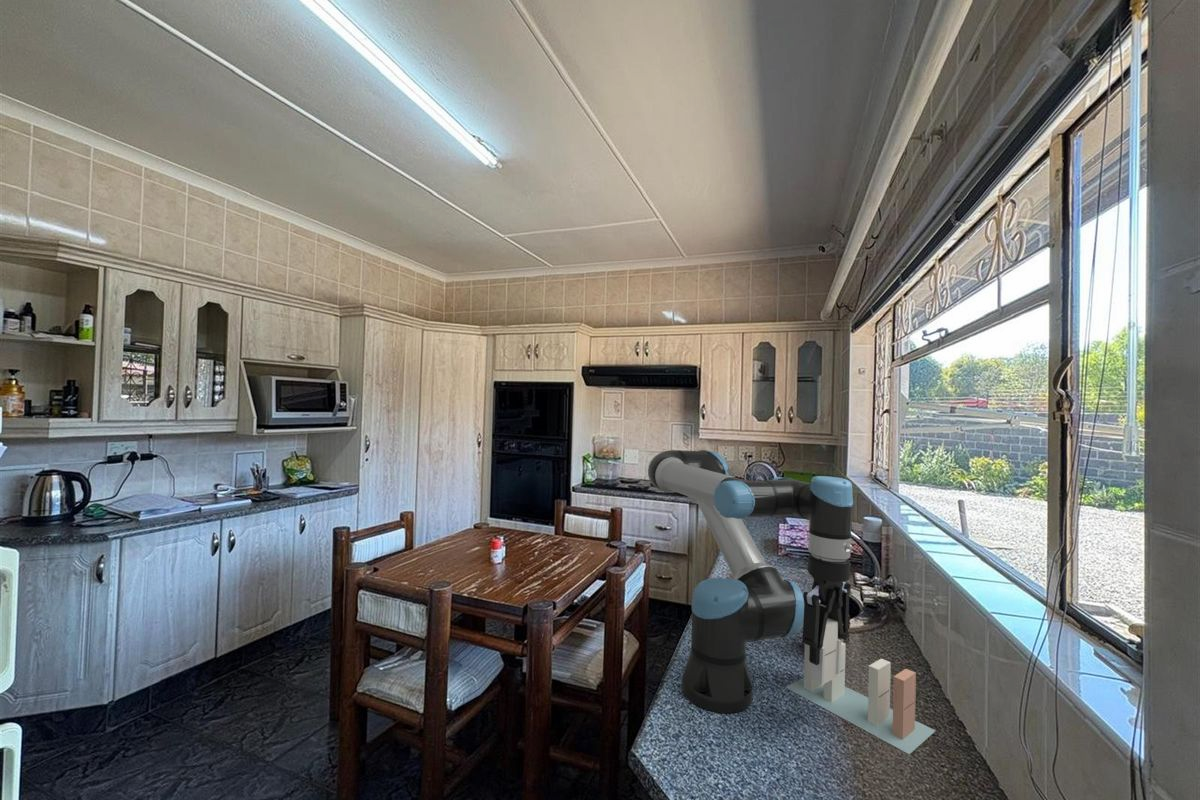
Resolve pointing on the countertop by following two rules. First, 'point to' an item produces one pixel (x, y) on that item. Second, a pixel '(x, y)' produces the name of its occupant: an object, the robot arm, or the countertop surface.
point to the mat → (863, 716)
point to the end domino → (904, 703)
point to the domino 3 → (836, 681)
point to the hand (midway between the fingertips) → (824, 674)
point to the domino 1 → (808, 681)
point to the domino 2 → (830, 650)
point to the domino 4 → (879, 692)
